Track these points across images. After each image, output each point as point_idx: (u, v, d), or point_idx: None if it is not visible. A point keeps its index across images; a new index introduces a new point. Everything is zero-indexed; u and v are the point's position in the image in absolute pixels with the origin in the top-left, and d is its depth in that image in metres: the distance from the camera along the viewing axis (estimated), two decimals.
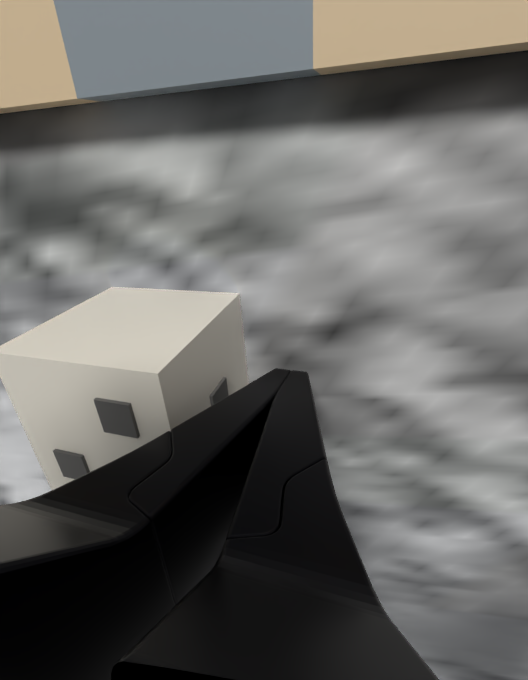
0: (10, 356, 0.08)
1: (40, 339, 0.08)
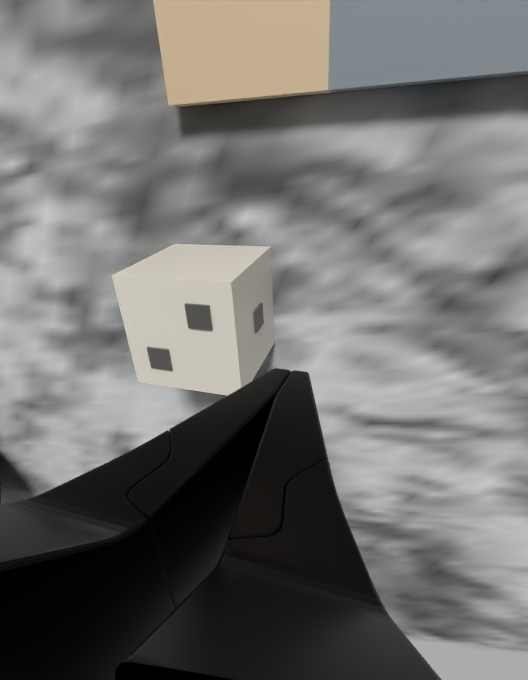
0: (127, 277, 0.12)
1: (142, 269, 0.12)
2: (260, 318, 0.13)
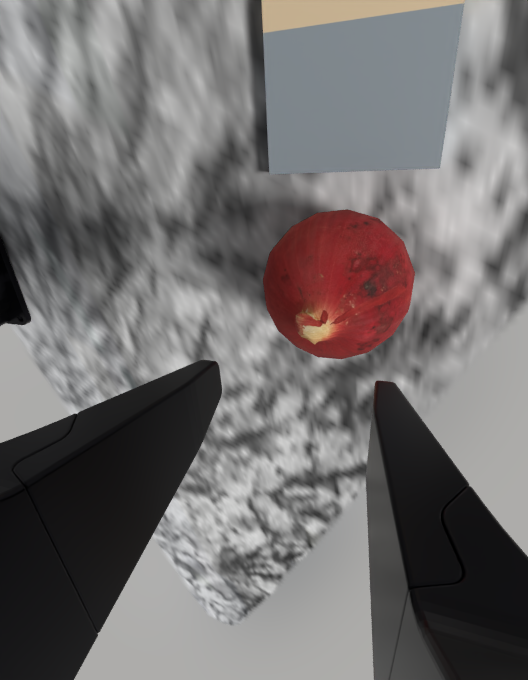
0: None
1: None
2: None
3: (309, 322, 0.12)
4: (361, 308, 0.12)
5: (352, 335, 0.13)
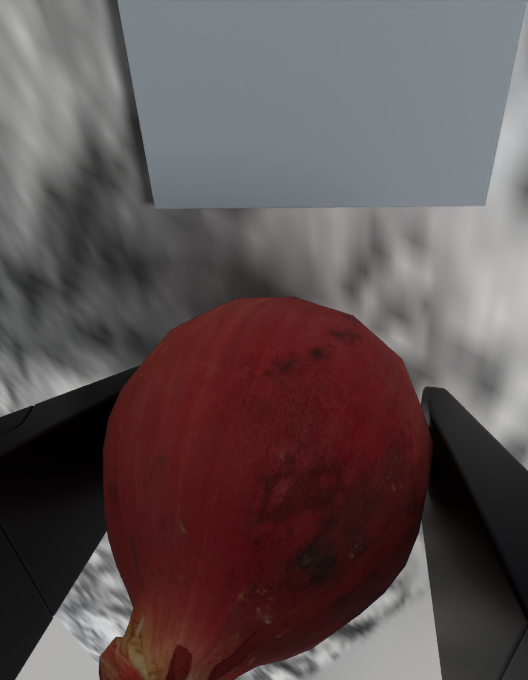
0: None
1: None
2: None
3: None
4: (290, 622, 0.04)
5: (275, 660, 0.05)
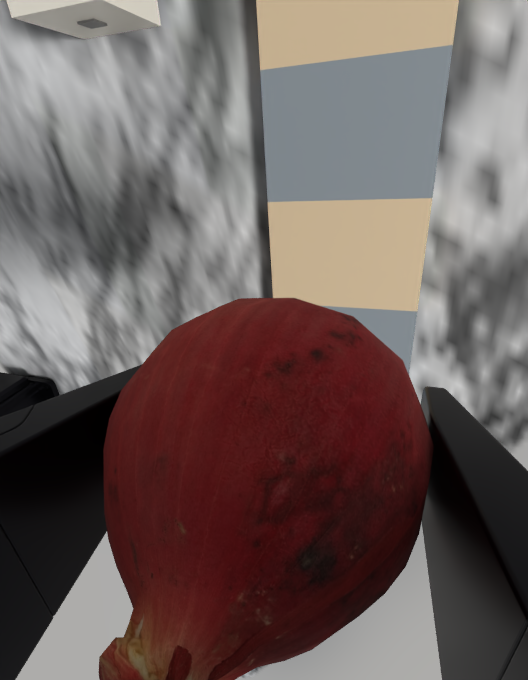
0: None
1: None
2: (92, 25, 0.15)
3: None
4: (290, 621, 0.04)
5: (275, 661, 0.05)
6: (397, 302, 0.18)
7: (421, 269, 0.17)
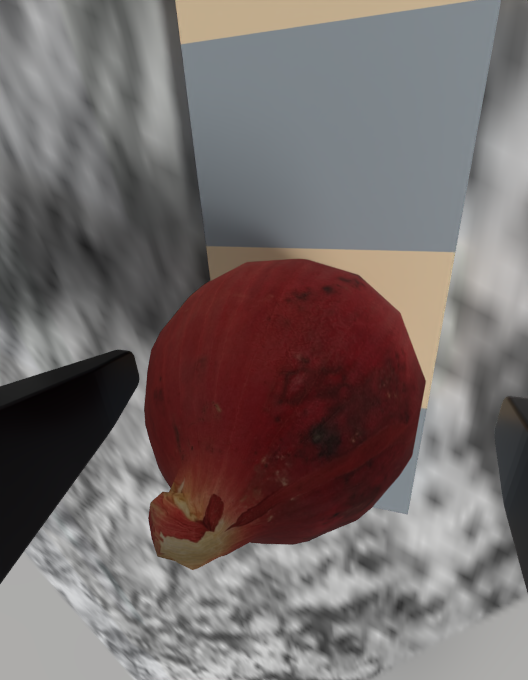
0: None
1: None
2: None
3: (174, 527, 0.05)
4: (303, 486, 0.05)
5: (288, 532, 0.06)
6: None
7: (434, 353, 0.11)
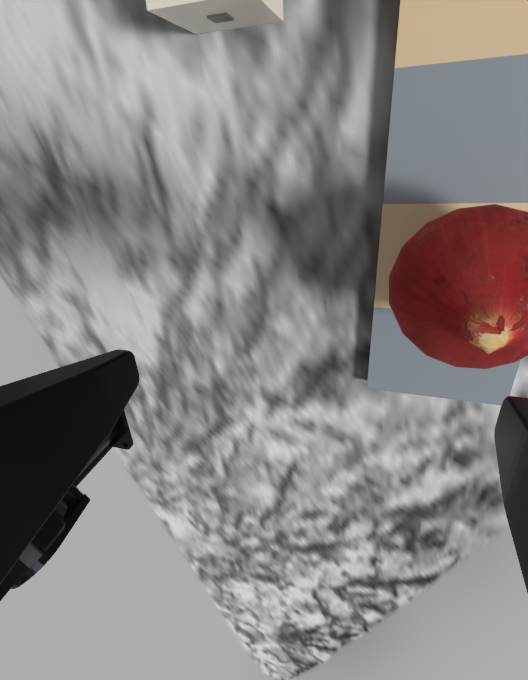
0: None
1: None
2: (220, 20, 0.15)
3: (487, 329, 0.10)
4: None
5: (522, 343, 0.11)
6: None
7: None
